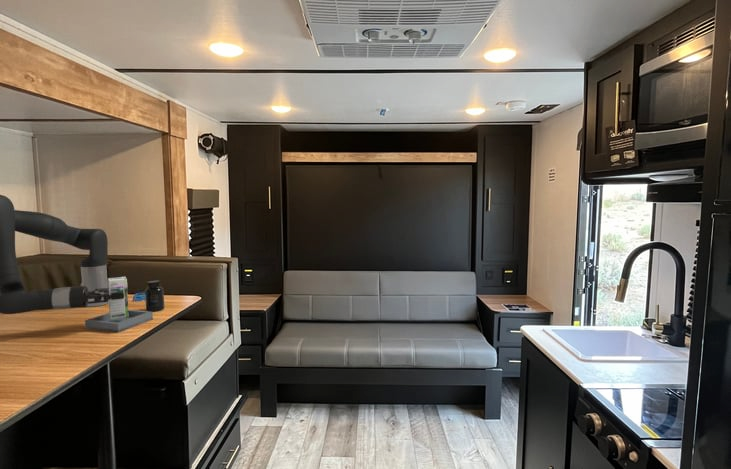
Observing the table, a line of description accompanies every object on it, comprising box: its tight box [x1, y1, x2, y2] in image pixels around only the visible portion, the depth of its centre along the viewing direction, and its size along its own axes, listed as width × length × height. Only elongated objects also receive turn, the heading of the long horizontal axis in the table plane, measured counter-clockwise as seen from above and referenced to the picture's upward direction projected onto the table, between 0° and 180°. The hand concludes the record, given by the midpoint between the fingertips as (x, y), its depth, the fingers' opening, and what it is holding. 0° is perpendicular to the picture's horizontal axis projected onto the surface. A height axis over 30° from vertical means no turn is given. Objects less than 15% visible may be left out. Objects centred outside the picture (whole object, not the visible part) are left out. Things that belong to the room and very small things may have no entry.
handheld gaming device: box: [133, 292, 145, 302], centre depth 186 cm, size 8×1×15 cm
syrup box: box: [107, 276, 129, 320], centre depth 145 cm, size 6×6×14 cm
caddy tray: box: [84, 309, 154, 333], centre depth 146 cm, size 15×15×3 cm
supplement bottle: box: [144, 280, 165, 313], centre depth 164 cm, size 7×7×12 cm
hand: (125, 293), depth 146 cm, fingers closed on syrup box, 6 cm apart
